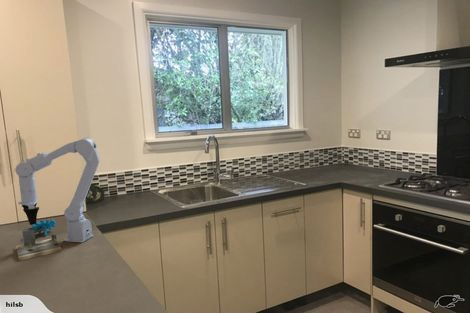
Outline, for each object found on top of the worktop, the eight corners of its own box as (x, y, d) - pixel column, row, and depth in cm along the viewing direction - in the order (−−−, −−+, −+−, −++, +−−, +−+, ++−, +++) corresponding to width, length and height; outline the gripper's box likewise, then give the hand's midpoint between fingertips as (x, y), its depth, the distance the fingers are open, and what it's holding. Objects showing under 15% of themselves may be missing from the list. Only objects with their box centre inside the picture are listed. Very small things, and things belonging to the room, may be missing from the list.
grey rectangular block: (34, 241, 147) (33, 227, 146) (36, 246, 141) (34, 232, 140) (23, 244, 144) (21, 229, 144) (24, 249, 138) (23, 234, 138)
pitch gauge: (55, 240, 154) (54, 231, 153) (61, 250, 141) (60, 241, 141) (16, 248, 146) (15, 239, 145) (19, 260, 133) (17, 250, 133)
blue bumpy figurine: (56, 225, 169) (53, 215, 161) (59, 236, 166) (56, 226, 158) (30, 233, 164) (25, 223, 156) (33, 244, 161) (28, 234, 153)
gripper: (16, 189, 151) (19, 219, 153) (18, 195, 140) (22, 228, 141) (34, 186, 155) (38, 216, 157) (38, 192, 144) (42, 224, 145)
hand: (32, 222), depth 150 cm, fingers open, 7 cm apart
